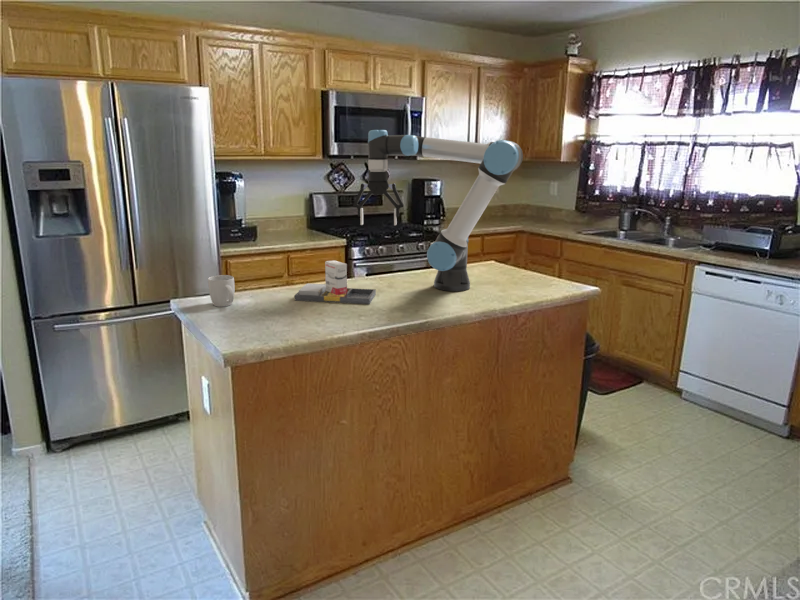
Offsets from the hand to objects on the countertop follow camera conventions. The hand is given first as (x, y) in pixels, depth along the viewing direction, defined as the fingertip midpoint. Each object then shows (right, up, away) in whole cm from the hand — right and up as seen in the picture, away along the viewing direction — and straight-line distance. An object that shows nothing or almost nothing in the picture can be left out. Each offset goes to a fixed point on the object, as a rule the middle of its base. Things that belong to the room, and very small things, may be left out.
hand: (378, 224), depth 222 cm
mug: (-55, -33, -22) cm, 68 cm away
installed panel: (-25, -29, -8) cm, 39 cm away
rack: (-16, -29, -9) cm, 35 cm away
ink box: (-16, -28, -10) cm, 33 cm away
